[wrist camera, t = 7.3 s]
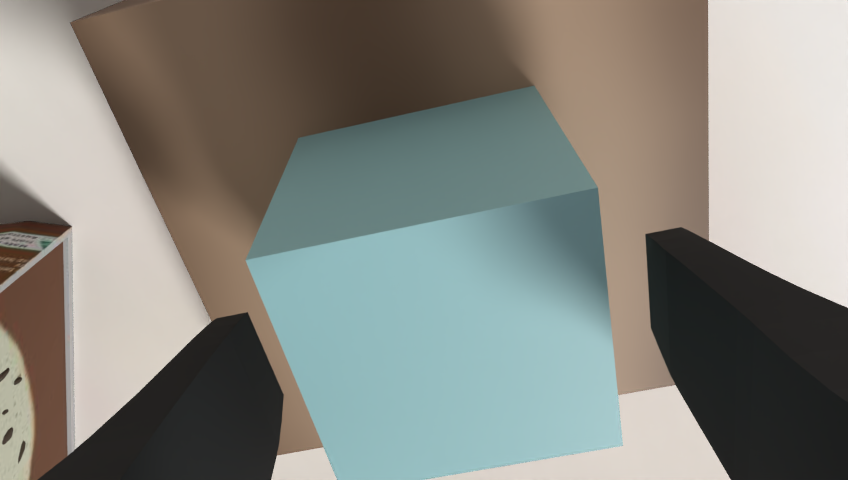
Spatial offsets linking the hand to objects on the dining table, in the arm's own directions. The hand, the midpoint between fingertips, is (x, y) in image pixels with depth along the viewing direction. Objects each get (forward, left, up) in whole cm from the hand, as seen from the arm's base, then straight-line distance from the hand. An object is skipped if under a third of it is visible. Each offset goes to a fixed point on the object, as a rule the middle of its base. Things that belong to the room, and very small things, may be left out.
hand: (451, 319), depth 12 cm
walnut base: (0, 0, -7) cm, 7 cm away
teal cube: (0, 0, -4) cm, 4 cm away
